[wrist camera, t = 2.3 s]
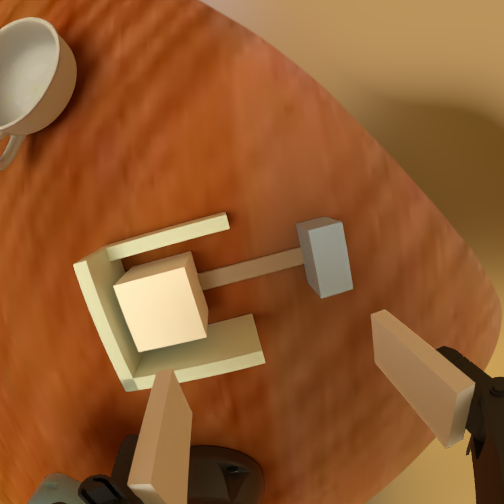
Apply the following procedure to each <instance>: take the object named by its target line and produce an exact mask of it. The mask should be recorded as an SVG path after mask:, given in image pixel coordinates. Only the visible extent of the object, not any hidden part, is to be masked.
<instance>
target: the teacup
mask: <svg viewBox="0 0 504 504" xmlns="http://www.w3.org/2000/svg"><path fill="white" fill-rule="evenodd" d="M76 78H77V67H76V61H75V57H74V55H73V53H72V51H71V49H70V48H69V46H68V45H67V44H66V42H65V41H64V40H63V39H62V38H61V37H60V35H59V34H58V33H57V31H56V29H55V28H54V26H53V25H51V24H50V23H49V22H48V21H46V20H43V19H40V18H35V17H27V18H23V19H19V20H16V21H14V22H12V23H10V24H8V25H6V26H4V27H3V28H1V29H0V140H2V139H3V138H6V137H7V136H8V135H11V138H10V141H9V143H8V145H7V147H6V149H5V151H4V153H3V155H2V156H1V157H0V171H2V170H5V169H6V168H7V167H8V166H9V165H10V164H11V163H12V161H13V160H14V158H15V156H16V154H17V152H18V150H19V148H20V146H21V144H22V143H23V142H24V141H25V139H26V137H27V135H28V134H31V133H35V132H37V131H39V130H41V129H43V128H45V127H46V126H48V125H49V124H51V123H52V122H53V121H54V120H55V119H56V118H57V117H58V116H59V115H60V114H61V112H62V111H63V110H64V108H65V107H66V105H67V104H68V102H69V100H70V98H71V96H72V93H73V91H74V88H75V84H76Z"/></svg>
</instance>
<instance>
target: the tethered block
mask: <svg viewBox="0 0 504 504" xmlns="http://www.w3.org/2000/svg"><path fill="white" fill-rule="evenodd" d="M295 225H296V229H297V234H298V239H299V243H300V246H299V247H296V248H292V249H288V250H284V251H281V252H277V253H273V254H269V255H265V256H262V257H258V258H254V259H250V260H246V261H243V262H239V263H235V264H231V265H227V266H223V267H220V268H216V269H212V270H208V271H204V272H200V273H197V270H196V267H195V264H194V260H193V257H192V253H191V251H189V252H185V253H182V254H178V255H174V256H170V257H167V258H163V259H159V260H156V261H152V262H148V263H145V264H141V265H137V266H134V267H131V268H130V269H129V270H128V271H127V272H126V273H125V274H124V275H123V276H122V277H121V278H120V279H119V280H118V281H117V282H116V283H115V284H114V285H113V287H114V290H115V293H116V296H117V298H118V301H119V304H120V307H121V309H122V312H123V315H124V317H125V320H126V322H127V325H128V327H129V330H130V332H131V335H132V337H133V340H134V342H135V345H136V347H137V349H138V352H142V351H147V350H152V349H157V348H161V347H166V346H171V345H175V344H180V343H184V342H189V341H193V340H197V339H202V338H206V337H207V325H208V307H207V303H206V300H205V297H204V294H203V290H206V289H210V288H214V287H218V286H222V285H226V284H230V283H233V282H237V281H241V280H245V279H249V278H253V277H256V276H260V275H264V274H268V273H271V272H275V271H279V270H282V269H286V268H290V267H294V266H297V265H301V264H304V267H305V272H306V277H307V282H308V284H309V285H310V286H311V287H312V289H313V290H314V291H315V292H316V293H317V294H318V295H319V296H320V298H321V299H322V298H325V297H328V296H332V295H335V294H338V293H342V292H345V291H348V290H351V289H353V284H352V277H351V271H350V264H349V258H348V252H347V246H346V241H345V235H344V230H343V224H342V222H341V221H338V220H335V219H332V218H328V217H321V218H317V219H313V220H309V221H305V222H301V223H297V224H295Z"/></svg>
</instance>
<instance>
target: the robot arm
mask: <svg viewBox="0 0 504 504" xmlns="http://www.w3.org/2000/svg"><path fill="white" fill-rule="evenodd" d="M371 323H372V334H373V346H374V360H375V364H376V365H377V366H378V367H379V369H380V370H381V371H382V372H383V373H384V374H385V376H386V377H387V378H388V379H389V380H390V382H391V383H392V384H393V385H394V386H395V388H396V389H397V390H398V391H399V392H400V394H401V395H402V396H403V397H404V398H405V400H406V401H407V402H408V403H409V404H410V406H411V407H412V408H413V409H414V410H415V412H416V413H417V414H418V415H419V416H420V418H421V419H422V420H423V421H424V423H425V424H426V425H427V426H428V427H429V429H430V430H431V431H432V432H433V434H434V435H435V436H436V437H437V438H438V440H439V441H440V442H441V443H442V445H443V446H444V447H445V448H446V449H447V448H449V447H450V446H452V445H454V444H456V443H457V442H459V441H461V440H462V439H463V437H464V433H465V429H467V430H468V431H469V432H470V433H471V438H470V441H469V444H468V447H467V451H466V455H469V452H470V449H471V452H472V461H473V469H474V478H475V490H476V504H504V377H495V378H491V377H490V376H489V375H487V374H486V373H485V372H484V371H482V370H481V369H480V368H478V367H477V366H476V365H475V364H473V363H472V362H469V360H468V359H467V358H466V357H463V355H462V354H460V353H459V352H458V351H456V350H455V349H452V348H449V347H446V346H443V347H440V348H438V349H436V350H435V349H434V348H433V347H431V346H430V345H429V344H428V343H427V342H425V341H424V340H423V339H422V338H420V337H419V336H418V335H417V334H415V333H414V332H413V331H412V330H410V329H409V328H408V327H407V326H406V325H404V324H403V323H402V322H401V321H399V320H398V319H397V318H395V317H394V316H393V315H392V314H390V313H389V312H388V311H387V310H385V309H384V310H382V311H379V312H376V313H373V314H371ZM191 426H192V411H191V409H190V407H189V405H188V403H187V400H186V398H185V396H184V394H183V392H182V389H181V387H180V385H179V382H178V380H177V378H176V375H175V373H174V371H173V368H171V369H166V370H161V371H157V372H156V376H155V379H154V383H153V386H152V390H151V393H150V397H149V400H148V404H147V408H146V411H145V415H144V419H143V423H142V426H141V430H140V434H135V435H128V436H127V437H126V438H125V439H124V441H123V442H122V443H121V445H120V448H119V451H118V456H117V458H116V461H115V462H116V464H114V468H113V471H112V475H111V478H110V477H108V476H106V475H100V474H98V475H94V476H91V477H89V478H87V479H85V480H84V481H83V482H82V483H81V482H79V481H77V480H75V479H73V478H71V477H69V476H67V475H65V474H62V473H52V474H49V475H47V476H46V477H45V478H44V480H43V481H42V482H41V484H40V485H39V487H38V488H37V490H36V491H35V493H34V494H33V495H32V497H31V498H30V500H29V501H28V503H27V504H261V502H262V498H263V494H264V489H265V484H264V478H263V473H262V470H261V468H260V466H259V465H258V464H257V463H256V462H255V461H254V460H253V459H251V458H250V457H248V456H246V455H244V454H242V453H240V452H237V451H234V450H231V449H226V448H221V447H213V446H195V447H190V439H191Z"/></svg>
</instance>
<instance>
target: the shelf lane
mask: <svg viewBox="0 0 504 504" xmlns="http://www.w3.org/2000/svg"><path fill="white" fill-rule="evenodd" d="M227 229H230V227H229V224H228V220H227V216H226V212H222V213H218V214H214V215H210V216H207V217H203V218H199V219H196V220H192V221H188V222H185V223H181V224H177V225H174V226H170V227H167V228H163V229H159V230H156V231H152V232H149V233H145V234H142V235H139V236H135V237H132V238H128V239H125V240H122V241H118V242H115V243H112V244H108V245H105V246H103V247H102V248H100V249H98V250H96V251H95V252H93V253H91V254H90V255H88V256H86V257H85V258H83V259H81V260H80V261H78V262H76V263H75V264H73V266H74V269H75V272H76V275H77V278H78V281H79V284H80V287H81V290H82V292H83V295H84V298H85V300H86V303H87V306H88V308H89V311H90V313H91V316H92V318H93V321H94V323H95V326H96V328H97V331H98V333H99V335H100V338H101V340H102V342H103V345H104V347H105V349H106V351H107V353H108V356H109V358H110V360H111V362H112V364H113V366H114V368H115V371H116V373H117V375H118V377H119V379H120V381H121V383H122V385H123V387H124V389H125V391H126V392H129V391H135V390H142V389H148V388H152V386H153V383H154V379H155V376H156V372H157V371H161V370H166V369H171V368H173V371H174V373H175V375H176V378H177V380H178V382H179V383H181V382H186V381H191V380H196V379H201V378H205V377H210V376H214V375H219V374H223V373H228V372H232V371H236V370H240V369H244V368H248V367H252V366H256V365H260V364H264V363H265V359H264V355H263V352H262V348H261V344H260V341H259V337H258V333H257V329H256V326H255V322H254V318H253V315H252V314H248V315H244V316H240V317H236V318H232V319H228V320H224V321H220V322H216V323H212V324H208V325H207V337H206V338H202V339H197V340H193V341H189V342H184V343H180V344H175V345H171V346H166V347H161V348H157V349H152V350H147V351H142V352H138V349H137V347H136V345H135V342H134V340H133V337H132V335H131V332H130V330H129V327H128V325H127V322H126V320H125V317H124V315H123V312H122V309H121V307H120V304H119V301H118V298H117V296H116V293H115V290H114V287H113V285H114V284H115V283H116V282H117V281H118V280H119V279H120V278H121V277H122V276H123V275H124V274H125V270H124V267H123V264H122V261H121V258H124V257H128V256H131V255H135V254H138V253H142V252H145V251H149V250H152V249H156V248H160V247H163V246H167V245H171V244H174V243H178V242H182V241H185V240H189V239H193V238H196V237H200V236H204V235H208V234H211V233H215V232H219V231H223V230H227Z"/></svg>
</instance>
